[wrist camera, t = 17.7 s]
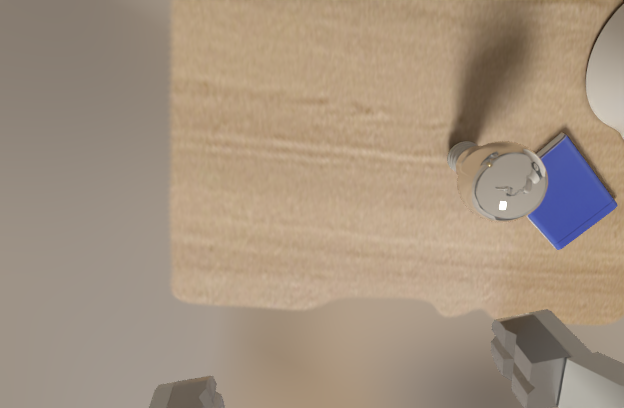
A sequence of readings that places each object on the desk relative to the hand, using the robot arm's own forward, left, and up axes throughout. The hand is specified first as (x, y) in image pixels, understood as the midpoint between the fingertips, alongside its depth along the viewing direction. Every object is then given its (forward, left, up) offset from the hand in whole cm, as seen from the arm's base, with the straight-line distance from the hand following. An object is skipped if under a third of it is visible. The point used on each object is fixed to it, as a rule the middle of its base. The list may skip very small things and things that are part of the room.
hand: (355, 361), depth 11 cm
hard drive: (-28, +13, -30) cm, 43 cm away
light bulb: (-16, +6, -29) cm, 34 cm away
